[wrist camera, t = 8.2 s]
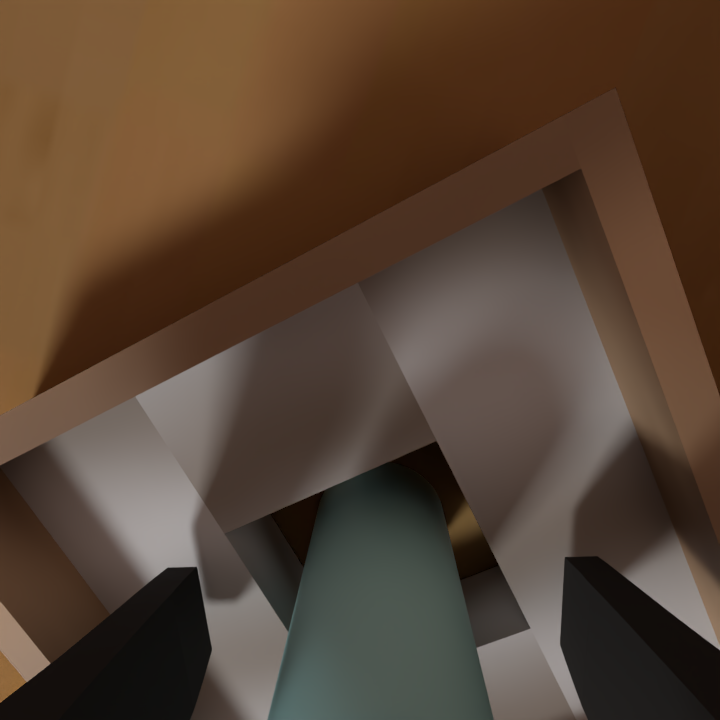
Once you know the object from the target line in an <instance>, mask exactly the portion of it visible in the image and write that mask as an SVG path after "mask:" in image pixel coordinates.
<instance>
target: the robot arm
mask: <svg viewBox="0 0 720 720" xmlns="http://www.w3.org/2000/svg"><path fill="white" fill-rule="evenodd" d="M560 646H561V649H562V652H563V655H564V658H565V661H566V664H567V667H568V670H569V672H570V675H571V678H572V681H573V684H574V686H575V689H576V692H577V695H578V697H579V700H580V703H581V706H582V708H583V710H584V712H585V714H586V717H587V719H588V720H720V650H719V649H718V648H716V647H715V646H714V645H712V644H711V643H710V642H708V641H707V640H706V639H704V638H703V637H702V636H700V635H699V634H698V633H696V632H695V631H694V630H692V629H691V628H690V627H688V626H687V625H686V624H685V623H683V622H682V621H681V620H679V619H678V618H677V617H675V616H674V615H673V614H672V613H670V612H669V611H668V610H666V609H665V608H664V607H663V606H661V605H660V604H659V603H657V602H656V601H655V600H654V599H652V598H651V597H650V596H649V595H647V594H646V593H645V592H643V591H642V590H641V589H640V588H638V587H637V586H636V585H635V584H633V583H632V582H631V581H629V580H628V579H627V578H626V577H624V576H623V575H622V574H620V573H619V572H618V571H617V570H615V569H614V568H613V567H611V566H610V565H609V564H608V563H606V562H605V561H603V560H602V559H601V558H599V557H598V556H584V557H565V560H564V578H563V596H562V615H561V633H560ZM211 652H212V646H211V641H210V635H209V630H208V624H207V619H206V613H205V608H204V602H203V597H202V591H201V586H200V580H199V575H198V569H197V567H168V568H166V569H165V570H164V571H163V572H161V573H160V574H159V575H157V576H156V577H155V578H154V579H152V580H151V581H150V582H149V583H147V584H146V585H145V586H144V587H143V588H141V589H140V590H139V591H138V592H137V593H135V594H134V595H133V596H132V597H131V598H130V599H128V600H127V601H126V602H125V603H124V604H122V605H121V606H120V607H119V608H118V609H116V610H115V611H114V612H113V613H112V614H111V615H109V616H108V617H107V618H106V619H105V620H103V621H102V622H101V623H100V624H99V625H97V626H96V627H95V628H94V629H92V630H91V631H90V632H89V633H88V634H86V635H85V636H84V637H83V638H82V639H80V640H79V641H78V642H77V643H76V644H74V645H73V646H72V647H71V648H70V649H68V650H67V651H66V652H65V653H64V654H62V655H61V656H60V657H59V658H57V659H56V660H55V661H53V662H52V663H51V664H50V665H48V666H47V667H46V668H44V669H43V670H42V671H41V672H39V673H38V674H37V675H36V676H34V677H33V678H32V679H30V680H29V681H28V682H27V683H25V684H24V685H23V686H21V687H20V688H19V689H18V690H16V691H15V692H14V693H12V694H11V695H10V696H9V697H7V698H6V699H5V700H3V701H2V702H1V703H0V720H190V719H191V716H192V714H193V711H194V709H195V706H196V702H197V699H198V696H199V693H200V690H201V686H202V683H203V680H204V676H205V673H206V669H207V666H208V662H209V659H210V655H211Z"/></svg>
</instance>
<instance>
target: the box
mask: <svg viewBox="0 0 720 720" xmlns="http://www.w3.org/2000/svg"><path fill="white" fill-rule="evenodd" d="M435 441H437V442H438V444H439V446H440V448H441V450H442V452H443V454H444V456H445V458H446V460H447V462H448V464H449V466H450V468H451V470H452V472H453V474H454V476H455V478H456V480H457V482H458V484H459V486H460V488H461V490H462V492H463V494H464V496H465V498H466V500H467V502H468V504H469V506H470V508H471V510H472V512H473V514H474V516H475V518H476V520H477V522H478V524H479V526H480V528H481V530H482V532H483V534H484V536H485V538H486V540H487V542H488V544H489V546H490V548H491V550H492V552H493V554H494V556H495V558H496V560H497V562H498V564H499V566H496V567H494V568H491V569H489V570H486V571H483V572H481V573H478V574H476V575H473V576H470V577H468V578H465V579H463V580H460V582H461V586H462V590H463V594H464V599H465V603H466V607H467V611H468V615H469V619H470V623H471V627H472V632H473V636H474V640H475V644H476V648H477V652H478V656H479V660H480V665H481V669H482V673H483V677H484V681H485V685H486V689H487V693H488V698H489V702H490V706H491V710H492V714H493V718H494V720H588V719H587V717H586V714H585V712H584V710H583V708H582V706H581V703H580V700H579V697H578V695H577V692H576V689H575V686H574V684H573V681H572V678H571V675H570V672H569V670H568V667H567V664H566V661H565V658H564V655H563V652H562V649H561V646H560V633H561V615H562V596H563V578H564V560H565V557H584V556H598V557H599V558H601V559H602V560H603V561H605V562H606V563H608V564H609V565H610V566H611V567H613V568H614V569H615V570H617V571H618V572H619V573H620V574H622V575H623V576H624V577H626V578H627V579H628V580H629V581H631V582H632V583H633V584H635V585H636V586H637V587H638V588H640V589H641V590H642V591H643V592H645V593H646V594H647V595H649V596H650V597H651V598H652V599H654V600H655V601H656V602H657V603H659V604H660V605H661V606H663V607H664V608H665V609H666V610H668V611H669V612H670V613H672V614H673V615H674V616H675V617H677V618H678V619H679V620H681V621H682V622H683V623H685V624H686V625H687V626H688V627H690V628H691V629H692V630H694V631H695V632H696V633H698V634H699V635H700V636H702V637H703V638H704V639H706V640H707V641H708V642H710V643H711V644H712V645H714V646H715V647H716V648H718V649H719V650H720V395H719V392H718V389H717V386H716V383H715V381H714V378H713V375H712V372H711V369H710V366H709V363H708V360H707V357H706V354H705V351H704V348H703V345H702V342H701V339H700V336H699V333H698V330H697V327H696V324H695V321H694V318H693V315H692V312H691V309H690V306H689V304H688V301H687V298H686V295H685V292H684V289H683V286H682V283H681V280H680V277H679V274H678V271H677V268H676V265H675V262H674V259H673V256H672V253H671V250H670V247H669V244H668V241H667V238H666V235H665V232H664V229H663V227H662V224H661V221H660V218H659V215H658V212H657V209H656V206H655V203H654V200H653V197H652V194H651V191H650V188H649V185H648V182H647V179H646V176H645V173H644V170H643V167H642V164H641V161H640V158H639V155H638V152H637V150H636V147H635V144H634V141H633V138H632V135H631V132H630V129H629V126H628V123H627V120H626V117H625V114H624V111H623V108H622V105H621V102H620V99H619V96H618V93H617V90H616V87H615V88H614V89H612V90H610V91H608V92H606V93H604V94H602V95H600V96H599V97H597V98H595V99H593V100H591V101H589V102H587V103H585V104H583V105H582V106H580V107H578V108H576V109H574V110H572V111H570V112H568V113H567V114H565V115H563V116H561V117H559V118H557V119H555V120H553V121H552V122H550V123H548V124H546V125H544V126H542V127H540V128H538V129H537V130H535V131H533V132H531V133H529V134H527V135H525V136H523V137H522V138H520V139H518V140H516V141H514V142H512V143H510V144H508V145H507V146H505V147H503V148H501V149H499V150H497V151H495V152H493V153H492V154H490V155H488V156H486V157H484V158H482V159H480V160H478V161H477V162H475V163H473V164H471V165H469V166H467V167H465V168H463V169H462V170H460V171H458V172H456V173H454V174H452V175H450V176H448V177H447V178H445V179H443V180H441V181H439V182H437V183H435V184H433V185H432V186H430V187H428V188H426V189H424V190H422V191H420V192H418V193H417V194H415V195H413V196H411V197H409V198H407V199H405V200H403V201H402V202H400V203H398V204H396V205H394V206H392V207H390V208H388V209H387V210H385V211H383V212H381V213H379V214H377V215H375V216H373V217H372V218H370V219H368V220H366V221H364V222H362V223H360V224H358V225H357V226H355V227H353V228H351V229H349V230H347V231H345V232H343V233H342V234H340V235H338V236H336V237H334V238H332V239H330V240H328V241H327V242H325V243H323V244H321V245H319V246H317V247H315V248H313V249H312V250H310V251H308V252H306V253H304V254H302V255H300V256H298V257H297V258H295V259H293V260H291V261H289V262H287V263H285V264H283V265H282V266H280V267H278V268H276V269H274V270H272V271H270V272H268V273H267V274H265V275H263V276H261V277H259V278H257V279H255V280H253V281H252V282H250V283H248V284H246V285H244V286H242V287H240V288H238V289H236V290H235V291H233V292H231V293H229V294H227V295H225V296H223V297H221V298H220V299H218V300H216V301H214V302H212V303H210V304H208V305H206V306H205V307H203V308H201V309H199V310H197V311H195V312H193V313H191V314H190V315H188V316H186V317H184V318H182V319H180V320H178V321H176V322H175V323H173V324H171V325H169V326H167V327H165V328H163V329H161V330H160V331H158V332H156V333H154V334H152V335H150V336H148V337H146V338H145V339H143V340H141V341H139V342H137V343H135V344H133V345H131V346H130V347H128V348H126V349H124V350H122V351H120V352H118V353H116V354H115V355H113V356H111V357H109V358H107V359H105V360H103V361H101V362H100V363H98V364H96V365H94V366H92V367H90V368H88V369H86V370H85V371H83V372H81V373H79V374H77V375H75V376H73V377H71V378H70V379H68V380H66V381H64V382H62V383H60V384H58V385H56V386H55V387H53V388H51V389H49V390H47V391H45V392H43V393H41V394H40V395H38V396H36V397H34V398H32V399H30V400H28V401H26V402H25V403H23V404H21V405H19V406H17V407H15V408H13V409H11V410H10V411H8V412H6V413H4V414H2V415H0V651H1V652H2V653H3V654H4V655H5V657H6V658H7V659H8V660H9V661H10V663H11V664H12V665H13V666H14V667H15V669H16V670H17V671H18V672H19V673H20V675H21V676H22V677H23V678H24V679H25V681H26V682H28V681H29V680H30V679H32V678H33V677H34V676H36V675H37V674H38V673H39V672H41V671H42V670H43V669H44V668H46V667H47V666H48V665H50V664H51V663H52V662H53V661H55V660H56V659H57V658H59V657H60V656H61V655H62V654H64V653H65V652H66V651H67V650H68V649H70V648H71V647H72V646H73V645H74V644H76V643H77V642H78V641H79V640H80V639H82V638H83V637H84V636H85V635H86V634H88V633H89V632H90V631H91V630H92V629H94V628H95V627H96V626H97V625H99V624H100V623H101V622H102V621H103V620H105V619H106V618H107V617H108V616H109V615H111V614H112V613H113V612H114V611H115V610H116V609H118V608H119V607H120V606H121V605H122V604H124V603H125V602H126V601H127V600H128V599H130V598H131V597H132V596H133V595H134V594H135V593H137V592H138V591H139V590H140V589H141V588H143V587H144V586H145V585H146V584H147V583H149V582H150V581H151V580H152V579H154V578H155V577H156V576H157V575H159V574H160V573H161V572H163V571H164V570H165V569H166V568H168V567H197V569H198V575H199V580H200V586H201V591H202V597H203V602H204V608H205V613H206V619H207V624H208V630H209V635H210V641H211V646H212V652H211V655H210V659H209V662H208V666H207V669H206V673H205V676H204V680H203V683H202V686H201V690H200V693H199V696H198V699H197V702H196V706H195V709H194V711H193V714H192V716H191V719H190V720H267V719H268V715H269V711H270V707H271V703H272V698H273V694H274V690H275V686H276V682H277V678H278V673H279V669H280V665H281V661H282V657H283V653H284V648H285V644H286V640H287V636H288V632H289V628H290V623H291V619H292V615H293V611H294V607H295V603H296V598H297V594H298V590H299V586H300V582H301V578H302V573H303V569H304V568H303V566H302V565H301V563H300V561H299V560H298V558H297V557H296V555H295V553H294V552H293V550H292V549H291V547H290V545H289V544H288V542H287V540H286V539H285V537H284V536H283V534H282V532H281V531H280V529H279V527H278V526H277V524H276V523H275V521H274V519H273V518H272V516H271V513H273V512H275V511H278V510H280V509H282V508H284V507H287V506H289V505H291V504H294V503H296V502H298V501H300V500H303V499H305V498H307V497H310V496H312V495H314V494H316V493H319V492H321V491H323V490H325V489H328V488H330V487H332V486H335V485H337V484H339V483H341V482H344V481H346V480H348V479H351V478H353V477H355V476H357V475H360V474H362V473H364V472H367V471H369V470H371V469H373V468H376V467H378V466H380V465H383V464H385V463H387V462H389V461H392V460H394V459H396V458H399V457H401V456H403V455H405V454H408V453H410V452H412V451H415V450H417V449H419V448H421V447H424V446H426V445H428V444H430V443H433V442H435Z"/></svg>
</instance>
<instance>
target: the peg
mask: <svg viewBox="0 0 720 720" xmlns="http://www.w3.org/2000/svg"><path fill="white" fill-rule="evenodd" d="M267 720H494V718H493V714H492V710H491V706H490V702H489V698H488V693H487V689H486V685H485V681H484V677H483V673H482V669H481V665H480V660H479V656H478V652H477V648H476V644H475V640H474V636H473V632H472V627H471V623H470V619H469V615H468V611H467V607H466V603H465V599H464V594H463V590H462V586H461V582H460V578H459V574H458V570H457V566H456V561H455V557H454V553H453V549H452V545H451V541H450V537H449V533H448V529H447V524H446V520H445V516H444V512H443V508H442V504H441V501H440V499H439V496H438V494H437V493H436V491H435V489H434V488H433V487H432V485H431V484H430V483H429V482H428V481H427V480H426V479H425V478H424V477H423V476H421V475H420V474H418V473H417V472H416V471H414V470H412V469H410V468H408V467H405V466H403V465H400V464H395V463H391V462H387V463H385V464H383V465H380V466H378V467H376V468H373V469H371V470H369V471H367V472H364V473H362V474H360V475H357V476H355V477H353V478H351V479H348V480H346V481H344V482H341V483H339V484H337V485H335V486H332V487H330V488H328V489H325V491H324V493H323V495H322V497H321V500H320V503H319V507H318V511H317V515H316V519H315V523H314V528H313V532H312V536H311V540H310V544H309V548H308V553H307V557H306V561H305V565H304V569H303V573H302V578H301V582H300V586H299V590H298V594H297V598H296V603H295V607H294V611H293V615H292V619H291V623H290V628H289V632H288V636H287V640H286V644H285V648H284V653H283V657H282V661H281V665H280V669H279V673H278V678H277V682H276V686H275V690H274V694H273V698H272V703H271V707H270V711H269V715H268V719H267Z"/></svg>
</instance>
